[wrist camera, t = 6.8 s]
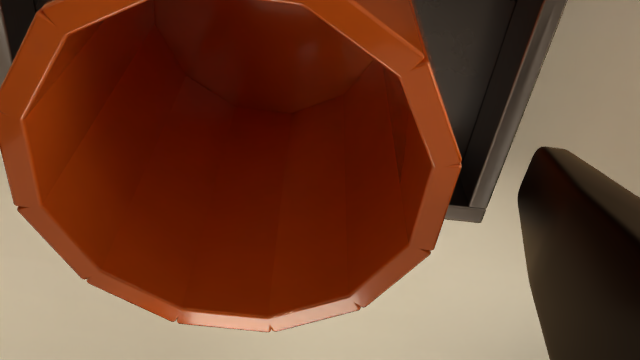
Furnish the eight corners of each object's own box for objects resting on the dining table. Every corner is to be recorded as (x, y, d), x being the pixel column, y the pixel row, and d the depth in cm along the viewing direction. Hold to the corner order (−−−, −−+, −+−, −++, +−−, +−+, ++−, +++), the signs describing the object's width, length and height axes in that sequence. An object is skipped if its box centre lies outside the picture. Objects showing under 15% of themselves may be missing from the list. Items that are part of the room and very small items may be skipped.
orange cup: (377, 126, 15) (401, 346, 10) (148, 98, 15) (38, 311, 10) (432, -125, 12) (519, -1, 6) (132, -169, 12) (-58, -79, 6)
